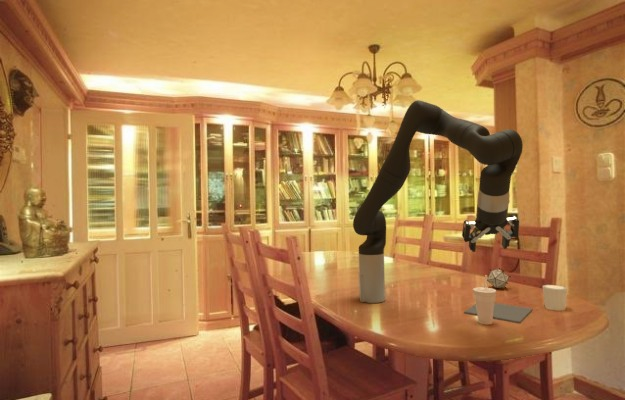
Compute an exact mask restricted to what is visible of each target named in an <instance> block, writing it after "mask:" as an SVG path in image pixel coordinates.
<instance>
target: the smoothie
mask: <svg viewBox="0 0 625 400" xmlns="http://www.w3.org/2000/svg"><path fill="white" fill-rule="evenodd" d="M487 279H488V275H487V274H485V275H484V284H485V285H484V286H485V287H484V286H480V287H474V288H472V293H473V295H474V301H475V304H476V309H477V315H476V316H477V320H478V323H479V324H481V325H492V324H493V311H494V303H496V302H495V301H496V296H497V290H496V288H493V287H491V288H490V287H488V281H487Z"/></svg>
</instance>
